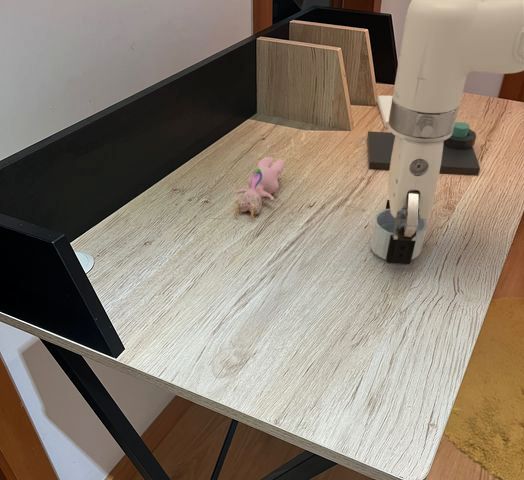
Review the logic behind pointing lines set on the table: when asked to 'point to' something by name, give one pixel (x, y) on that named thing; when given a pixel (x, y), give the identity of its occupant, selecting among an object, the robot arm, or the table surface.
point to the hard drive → (385, 108)
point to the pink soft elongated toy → (260, 186)
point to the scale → (453, 157)
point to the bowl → (385, 229)
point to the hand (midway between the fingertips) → (395, 243)
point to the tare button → (460, 129)
